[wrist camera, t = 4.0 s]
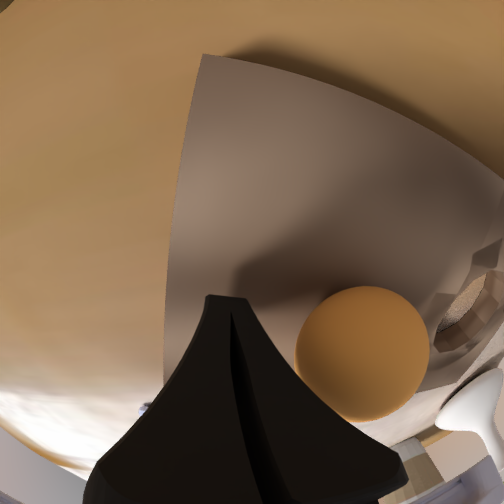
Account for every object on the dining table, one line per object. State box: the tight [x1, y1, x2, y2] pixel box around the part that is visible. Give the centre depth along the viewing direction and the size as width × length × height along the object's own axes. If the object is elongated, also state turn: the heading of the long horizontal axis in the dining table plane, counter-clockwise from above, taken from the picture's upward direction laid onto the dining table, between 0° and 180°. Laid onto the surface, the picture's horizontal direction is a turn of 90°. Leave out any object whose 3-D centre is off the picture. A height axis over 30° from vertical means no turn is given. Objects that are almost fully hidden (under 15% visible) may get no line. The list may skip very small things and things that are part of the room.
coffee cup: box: [384, 437, 446, 504], centre depth 26 cm, size 11×11×15 cm
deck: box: [164, 54, 504, 393], centre depth 13 cm, size 16×24×2 cm, turn 77°
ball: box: [294, 286, 430, 422], centre depth 9 cm, size 5×5×5 cm
